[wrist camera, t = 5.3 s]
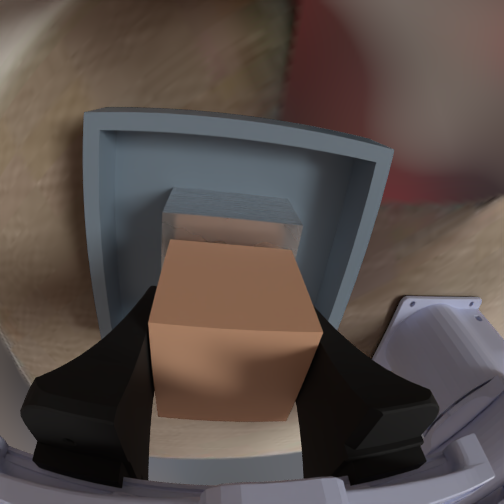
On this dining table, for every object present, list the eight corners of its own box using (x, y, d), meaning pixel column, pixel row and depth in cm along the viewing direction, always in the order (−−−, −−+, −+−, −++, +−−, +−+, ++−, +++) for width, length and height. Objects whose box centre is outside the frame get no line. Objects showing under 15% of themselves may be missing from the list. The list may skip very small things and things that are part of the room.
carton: (291, 249, 14) (323, 332, 9) (270, 336, 16) (286, 421, 12) (170, 239, 13) (148, 322, 8) (169, 330, 15) (158, 416, 11)
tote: (368, 138, 16) (394, 149, 14) (312, 335, 23) (322, 365, 20) (106, 107, 14) (83, 112, 11) (114, 322, 21) (104, 353, 18)
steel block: (287, 198, 17) (303, 225, 14) (268, 292, 20) (277, 330, 17) (173, 187, 16) (162, 212, 13) (169, 284, 19) (162, 322, 16)
